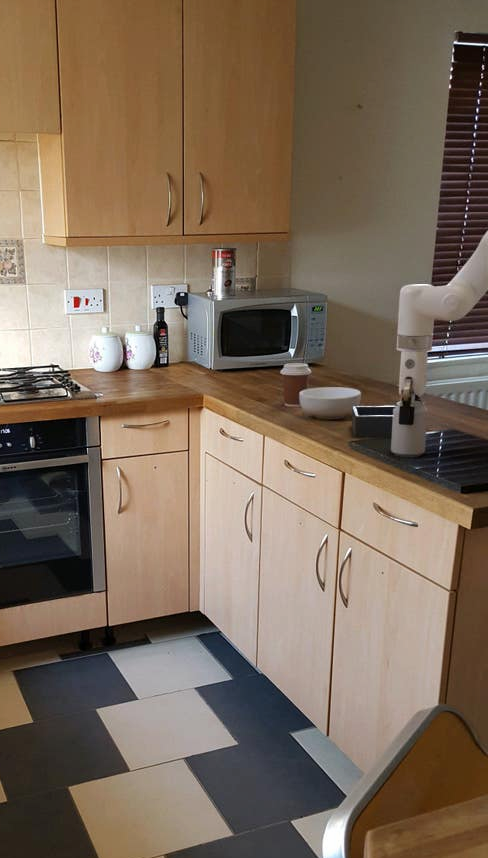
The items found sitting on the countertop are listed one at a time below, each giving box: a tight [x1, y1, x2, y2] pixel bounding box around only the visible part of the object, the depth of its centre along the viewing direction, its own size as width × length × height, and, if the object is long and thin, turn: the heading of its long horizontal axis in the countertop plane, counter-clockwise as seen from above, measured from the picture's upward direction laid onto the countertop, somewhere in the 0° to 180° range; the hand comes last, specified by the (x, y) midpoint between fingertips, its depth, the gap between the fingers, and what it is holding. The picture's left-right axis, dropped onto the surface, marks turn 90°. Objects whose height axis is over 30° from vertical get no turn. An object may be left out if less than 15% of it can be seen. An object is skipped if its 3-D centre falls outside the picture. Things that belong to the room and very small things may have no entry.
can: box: [390, 400, 429, 458], centre depth 198 cm, size 8×8×12 cm
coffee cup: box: [280, 362, 312, 407], centre depth 261 cm, size 9×9×12 cm
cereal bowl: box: [299, 386, 362, 420], centre depth 243 cm, size 17×17×7 cm
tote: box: [350, 405, 397, 439], centre depth 222 cm, size 14×14×6 cm
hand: (409, 420), depth 198 cm, fingers open, 9 cm apart
